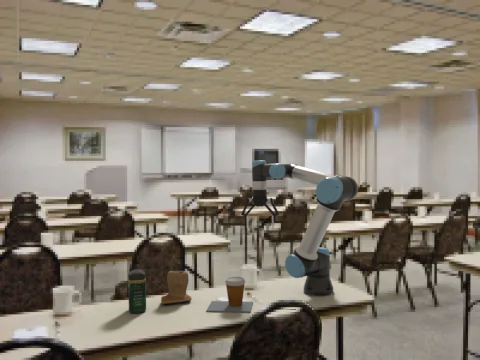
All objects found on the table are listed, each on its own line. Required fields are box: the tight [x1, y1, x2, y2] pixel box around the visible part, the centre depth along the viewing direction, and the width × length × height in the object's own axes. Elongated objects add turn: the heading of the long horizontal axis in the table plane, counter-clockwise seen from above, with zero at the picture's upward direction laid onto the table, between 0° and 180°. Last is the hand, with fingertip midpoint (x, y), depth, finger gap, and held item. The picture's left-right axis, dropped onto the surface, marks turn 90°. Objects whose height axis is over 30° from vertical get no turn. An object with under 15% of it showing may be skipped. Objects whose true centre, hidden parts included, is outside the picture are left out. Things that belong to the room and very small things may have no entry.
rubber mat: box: [205, 300, 254, 314], centre depth 201 cm, size 20×14×1 cm
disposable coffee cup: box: [224, 276, 246, 307], centre depth 203 cm, size 10×10×12 cm
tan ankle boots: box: [160, 270, 192, 305], centre depth 211 cm, size 15×12×15 cm
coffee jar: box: [127, 268, 147, 314], centre depth 199 cm, size 10×8×19 cm
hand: (260, 228), depth 233 cm, fingers open, 13 cm apart
